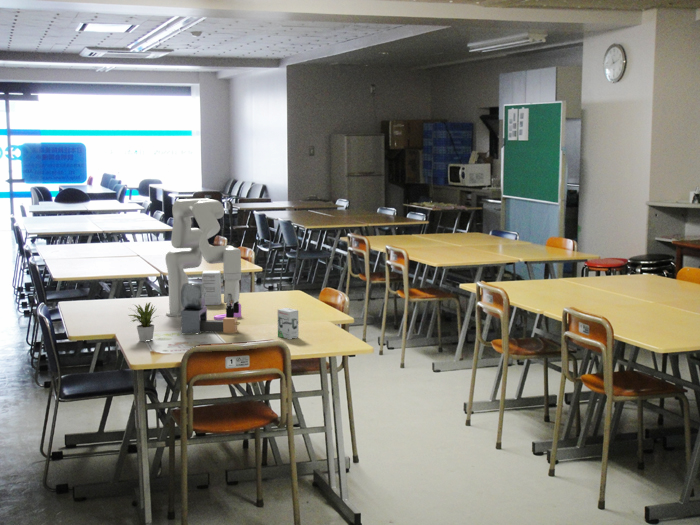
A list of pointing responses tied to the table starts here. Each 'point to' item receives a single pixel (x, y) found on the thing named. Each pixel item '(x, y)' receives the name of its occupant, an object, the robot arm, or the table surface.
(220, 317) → the bracket
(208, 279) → the supplement box
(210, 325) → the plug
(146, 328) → the house plant
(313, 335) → the table surface
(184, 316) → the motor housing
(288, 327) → the ink box
